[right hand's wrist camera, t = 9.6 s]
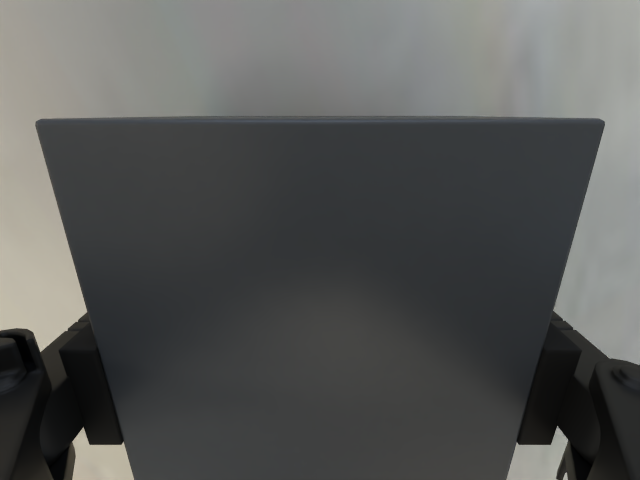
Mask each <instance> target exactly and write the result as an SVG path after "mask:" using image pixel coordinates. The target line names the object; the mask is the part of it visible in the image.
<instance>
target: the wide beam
mask: <svg viewBox="0 0 640 480" xmlns="http://www.w3.org/2000/svg"><path fill="white" fill-rule="evenodd" d="M35 126H36V129H37V133H38V136H39V140H40V144H41V147H42V151H43V154H44V158H45V162H46V165H47V169H48V172H49V176H50V179H51V183H52V187H53V190H54V194H55V197H56V201H57V204H58V208H59V212H60V215H61V219H62V222H63V226H64V230H65V233H66V237H67V240H68V244H69V247H70V251H71V255H72V258H73V262H74V265H75V269H76V272H77V276H78V280H79V283H80V287H81V290H82V294H83V297H84V301H85V305H86V308H87V312H88V315H89V319H90V323H91V326H92V330H93V333H94V337H95V340H96V344H97V348H98V351H99V355H100V358H101V362H102V365H103V369H104V373H105V376H106V380H107V383H108V387H109V391H110V394H111V398H112V401H113V405H114V408H115V412H116V416H117V419H118V423H119V426H120V430H121V433H122V437H123V441H124V444H125V448H126V451H127V455H128V459H129V462H130V466H131V469H132V473H133V476H134V480H506V478H507V475H508V471H509V468H510V464H511V460H512V457H513V453H514V450H515V446H516V442H517V439H518V435H519V432H520V428H521V424H522V421H523V417H524V414H525V410H526V406H527V403H528V399H529V396H530V392H531V388H532V385H533V381H534V378H535V374H536V370H537V367H538V363H539V360H540V356H541V353H542V349H543V345H544V342H545V338H546V335H547V331H548V327H549V324H550V320H551V317H552V313H553V309H554V306H555V302H556V299H557V295H558V291H559V288H560V284H561V281H562V277H563V273H564V270H565V266H566V263H567V259H568V255H569V252H570V248H571V245H572V241H573V238H574V234H575V230H576V227H577V223H578V220H579V216H580V212H581V209H582V205H583V202H584V198H585V194H586V191H587V187H588V184H589V180H590V176H591V173H592V169H593V166H594V162H595V158H596V155H597V151H598V148H599V144H600V140H601V137H602V133H603V130H604V126H605V122H604V121H603V120H601V119H595V118H532V117H468V116H185V117H127V118H68V119H40V120H38V121H36V125H35Z"/></svg>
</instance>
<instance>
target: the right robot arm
mask: <svg viewBox="0 0 640 480" xmlns="http://www.w3.org/2000/svg"><path fill="white" fill-rule="evenodd" d="M557 425H558V427H559V428H560V429H561V431H562V432H563V433H564V435H565V436H566V437H567V439H568V443H567V446H566V449H565V452H564V454H563V457H562V460H561V463H560V466H559V468H558V471H557V477H556V479H558V480H563V477H564V474H565V473H566V472H567V475H568V480H640V365H637V364H634V363H631V362H628V361H623V360H617V359H609V358H608V357H607V356H606V355H605V354H603V353H602V352H601V351H600V350H599V349H597V348H596V347H595V346H594V345H593V344H592V343H590V342H589V341H588V340H587V339H586V338H585V337H583V336H582V335H581V334H580V333H579V332H577V331H576V330H573V327H572V326H570V325H569V324H568V323H567V322H566V321H563V319H562V318H561V317H560V316H559V315H557V314H556V313H555V312H554V311H553V313H552V317H551V320H550V324H549V327H548V331H547V335H546V338H545V342H544V345H543V349H542V353H541V356H540V360H539V363H538V367H537V370H536V374H535V378H534V381H533V385H532V388H531V392H530V396H529V399H528V403H527V406H526V410H525V414H524V417H523V421H522V424H521V428H520V432H519V435H518V439H517V442H518V444H519V445H551V443H552V440H553V437H554V434H555V431H556V428H557ZM83 427H84V429H85V432H86V435H87V438H88V441H89V444H90V445H122V443H123V437H122V433H121V430H120V426H119V423H118V419H117V416H116V412H115V408H114V405H113V401H112V398H111V394H110V391H109V387H108V383H107V380H106V376H105V373H104V369H103V365H102V362H101V358H100V355H99V351H98V348H97V344H96V340H95V337H94V333H93V330H92V326H91V323H90V319H89V315H88V312H87V313H86V314H85V315H84V316H82V317H81V318H80V319H79V320H78V322H75V323H74V324H73V325H72V326H71V327H70V328H68V331H65V332H64V333H63V334H61V335H60V336H59V337H58V338H57V339H56V340H54V341H53V342H52V343H51V344H50V345H49V346H47V347H46V348H45V349H44V350H43V351H42V352H40V350H39V348H38V345H37V342H36V339H35V336H34V334H33V332H31V331H30V330H28V329H18V328H16V329H9V330H2V331H0V480H72V476H73V470H74V463H75V457H76V456H75V449H74V446H73V443H72V441H73V440H74V438H75V437H76V436H77V435H78V433H79V432H80V431H81V429H82V428H83Z"/></svg>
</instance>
